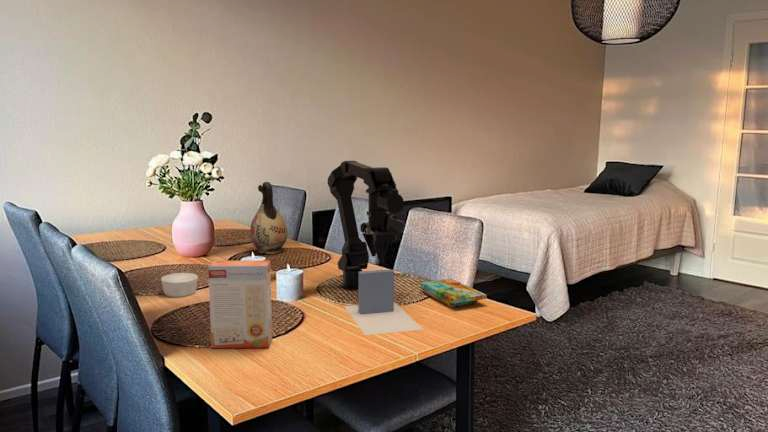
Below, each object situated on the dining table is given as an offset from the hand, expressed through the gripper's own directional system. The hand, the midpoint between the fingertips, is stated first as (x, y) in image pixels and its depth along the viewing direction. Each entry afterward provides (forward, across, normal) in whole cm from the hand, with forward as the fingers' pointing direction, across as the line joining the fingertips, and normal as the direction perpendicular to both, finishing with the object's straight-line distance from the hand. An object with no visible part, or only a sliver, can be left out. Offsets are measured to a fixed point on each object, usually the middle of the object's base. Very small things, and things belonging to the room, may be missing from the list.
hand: (377, 259), depth 177 cm
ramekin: (+13, +23, +59) cm, 64 cm away
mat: (+13, -16, +4) cm, 21 cm away
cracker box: (+14, -25, +42) cm, 51 cm away
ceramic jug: (+12, +73, +25) cm, 78 cm away
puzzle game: (+14, -5, -23) cm, 27 cm away
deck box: (+13, -11, +4) cm, 17 cm away
